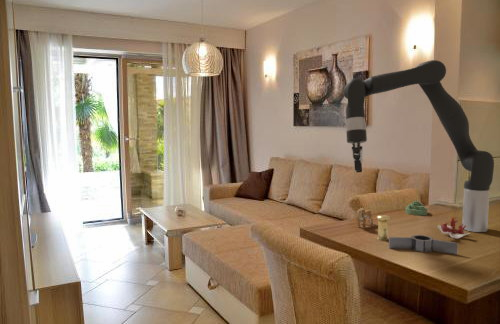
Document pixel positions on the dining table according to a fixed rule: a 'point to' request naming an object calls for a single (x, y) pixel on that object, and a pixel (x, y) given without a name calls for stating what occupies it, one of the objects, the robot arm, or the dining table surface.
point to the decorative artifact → (416, 209)
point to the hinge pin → (383, 227)
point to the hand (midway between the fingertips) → (358, 171)
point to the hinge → (423, 244)
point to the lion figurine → (363, 217)
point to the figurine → (453, 229)
